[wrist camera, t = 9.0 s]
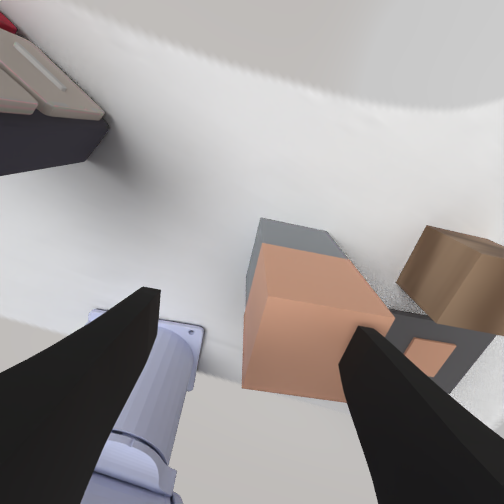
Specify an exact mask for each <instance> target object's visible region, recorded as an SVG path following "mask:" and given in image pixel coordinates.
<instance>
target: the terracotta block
mask: <svg viewBox="0 0 504 504" xmlns="http://www.w3.org/2000/svg"><path fill="white" fill-rule="evenodd" d="M394 320H395V317H394V316H393V314H392V313H391V312H390V311H389V309H388V308H387V307H386V306H385V304H384V303H383V302H382V300H381V299H380V298H379V297H378V295H377V294H376V293H375V292H374V290H373V289H372V288H371V286H370V285H369V284H368V283H367V281H366V280H365V279H364V278H363V276H362V275H361V274H360V273H359V271H358V270H357V269H356V267H355V266H354V265H353V264H352V262H351V261H350V260H349V259H344V258H338V257H333V256H328V255H323V254H318V253H313V252H308V251H302V250H297V249H292V248H287V247H282V246H277V245H271V244H266V243H262V245H261V249H260V253H259V257H258V261H257V265H256V269H255V273H254V277H253V281H252V285H251V289H250V293H249V297H248V301H247V305H246V309H245V314H244V332H243V364H242V388H243V389H250V390H258V391H265V392H272V393H279V394H287V395H294V396H301V397H309V398H316V399H323V400H330V401H338V402H345V403H347V401H346V398H345V395H344V391H343V387H342V382H341V377H340V372H339V366H338V363H339V362H340V360H341V358H342V356H343V354H344V352H345V350H346V348H347V346H348V344H349V342H350V340H351V338H352V336H353V334H354V333H355V331H356V329H357V327H358V326H364V327H369V328H374V329H375V330H376V331H378V332H379V333H380V334H381V335H383V336H384V337H385V336H386V334H387V332H388V331H389V329H390V327H391V325H392V323H393V322H394Z"/></svg>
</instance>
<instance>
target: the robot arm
mask: <svg viewBox="0 0 504 504" xmlns="http://www.w3.org/2000/svg"><path fill="white" fill-rule="evenodd" d="M160 294H161V290H159V289H153V288H148V287H141V288H140V289H138V290H137V291H135V292H134V293H133V294H131V295H130V296H128V297H127V298H125V299H124V300H123V301H121V302H120V303H118V304H117V305H115V306H114V307H112V308H111V309H110V310H108V311H103V310H97V309H94V310H92V311H91V312H90V313H89V315H88V319H89V322H88V323H87V324H86V325H85V326H84V327H82V328H80V329H79V330H77V331H75V332H74V333H72V334H70V335H69V336H67V337H65V338H64V339H62V340H61V341H59V342H57V343H56V344H54V345H52V346H50V347H49V348H47V349H45V350H43V351H41V352H40V353H38V354H36V355H34V356H32V357H30V358H29V359H27V360H25V361H23V362H21V363H19V364H17V365H15V366H13V367H11V368H9V369H7V370H5V371H3V372H1V373H0V504H183V502H182V499H181V497H180V496H179V495H178V494H177V493H175V492H173V488H174V483H175V478H176V474H177V471H176V470H175V469H172V468H170V467H169V466H168V465H169V460H170V456H171V452H172V448H173V444H174V440H175V436H176V432H177V428H178V423H179V419H180V415H181V411H182V407H183V403H184V399H185V395H186V391H191V390H193V387H194V382H195V376H196V371H197V365H198V360H199V354H200V349H201V343H202V338H203V332H204V330H203V328H202V327H200V326H194V325H188V324H182V323H176V322H170V321H164V320H158V319H159V307H160ZM190 330H193V331H194V332H191V331H190ZM338 366H339V372H340V377H341V382H342V387H343V391H344V395H345V398H346V401H347V404H348V407H349V410H350V414H351V417H352V419H353V422H354V425H355V428H356V431H357V434H358V437H359V440H360V443H361V446H362V449H363V452H364V455H365V458H366V461H367V464H368V467H369V471H370V474H371V477H372V480H373V484H374V488H375V492H376V496H377V500H378V504H504V439H503V438H502V437H500V436H499V435H498V434H496V433H495V432H494V431H492V430H491V429H490V428H489V427H487V426H486V425H485V424H483V423H482V422H481V421H480V420H478V419H477V418H476V417H475V416H473V415H472V414H471V413H470V412H469V411H467V410H466V409H465V408H464V407H463V406H461V405H460V404H459V403H458V402H457V401H456V400H454V399H453V398H452V397H451V396H450V395H448V394H447V393H446V392H445V391H444V390H443V389H442V388H440V387H439V386H438V385H437V384H436V383H435V382H434V381H432V380H431V379H430V378H429V377H428V376H427V375H426V374H425V373H424V372H422V371H421V370H420V369H419V368H418V367H417V366H416V365H415V364H414V363H413V362H411V361H410V360H409V359H408V358H407V357H406V356H405V355H404V354H403V353H402V352H401V351H399V350H398V349H397V348H396V347H395V346H394V345H393V344H392V343H391V342H389V341H388V340H387V339H386V338H385V337H384V336H383V335H381V334H380V333H379V332H378V331H376V330H375V329H374V328H369V327H364V326H358V327H357V329H356V331H355V333H354V334H353V336H352V338H351V340H350V342H349V344H348V346H347V348H346V350H345V352H344V354H343V356H342V358H341V360H340V362H339V363H338Z"/></svg>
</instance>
